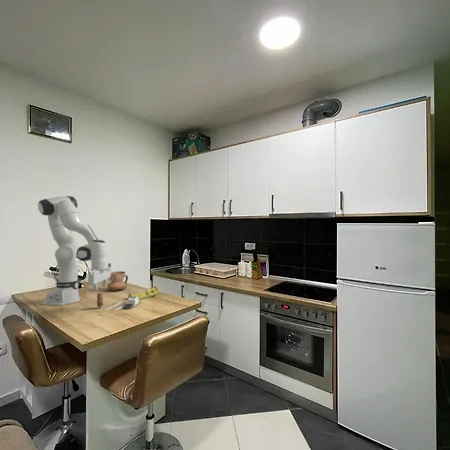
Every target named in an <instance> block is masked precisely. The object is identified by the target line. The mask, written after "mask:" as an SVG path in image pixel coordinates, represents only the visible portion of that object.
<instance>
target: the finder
mask: <svg viewBox="0 0 450 450" xmlns="http://www.w3.org/2000/svg"><path fill="white" fill-rule="evenodd" d="M126 302H127V304H133V305H136V304H137V303H138V302H140V300H139V297H137V296H132V297H130V298H128V299H126Z"/></svg>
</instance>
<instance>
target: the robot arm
mask: <svg viewBox="0 0 450 450" xmlns="http://www.w3.org/2000/svg"><path fill="white" fill-rule="evenodd" d="M77 208H78V201H77V200H76V198H75V197H74V196H72V195H71V196H69V195H67V196H56V197H51V198H50V197H49V198H43V199H40V200H39V201H38V203H37V209H38V211H39V213H40V214H41V215H42V216H47V219H48V225H49V228H50V231H51V235H52V238H53V240H54V241H55V242H56V244H57V246H58V248H57V249H56V250H55V252H54V257H55V259H56V265H57V269H58V281H57V282H55V283H54V286H55V287H54V288H53V289H52V290H51V291H49V292H48V293H47V295H46V298H45V300H43V301H42V302H41V305H46V306H49V305H50V306H59V307H60V306H64V305H70V304H74V303H77V302H80V301H81V297H80V291H79V278H78V277H79V276H78V275H79V273H78V271H79V269H78V266H77V262H76V259H78V260H79V261H80V262H88V261H89V262H90V261H91V267H90V270H89V272H88V274H87V276H88V277H87V285H89V286H92V288H93V291H94V292H97V291H99V287H98V284H99V283H101V282H102V288H105V287H107V283H108V280H109V279H108V278H110V277H111V272H112V268H111V267H112V263H111V262H109V261H108V259H107V257H108V256H107V255H108V248H107V243H106V241H105V240H103V239H98V237H97V235H96V234H95V233H94V230H93V229H92V228H91V225H89V224H88V223H87V222H86V221H85V220H84V219H83V217H82V216H81V214H80V212H79V211H78V209H77ZM72 232H75V233H78V234H80V235H82V237H84V238H85V240H86V242H87V244H85V245H81V246H79V245H78V243H77V241H76V239H75V237H74V235H73V233H72Z"/></svg>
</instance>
